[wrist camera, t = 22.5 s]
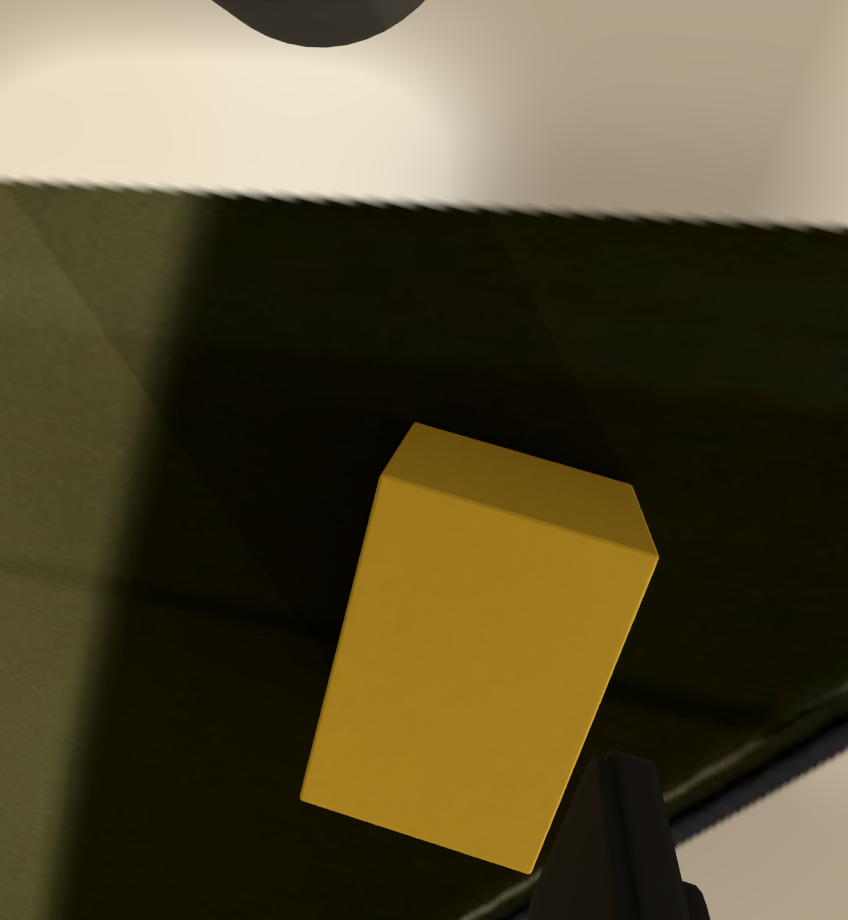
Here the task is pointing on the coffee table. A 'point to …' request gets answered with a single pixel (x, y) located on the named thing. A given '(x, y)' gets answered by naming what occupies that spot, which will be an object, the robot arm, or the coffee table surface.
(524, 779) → the sponge
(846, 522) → the coffee table surface
